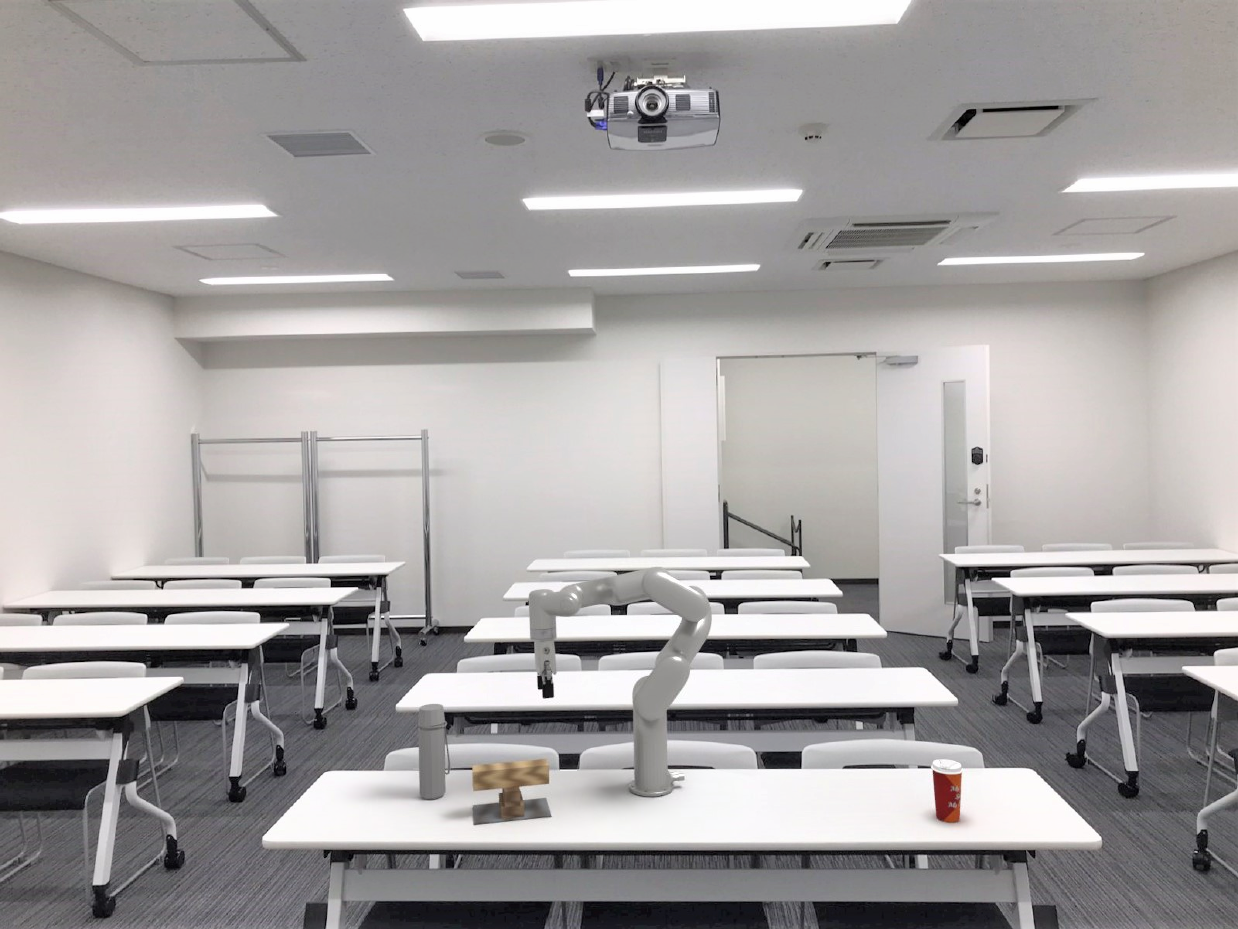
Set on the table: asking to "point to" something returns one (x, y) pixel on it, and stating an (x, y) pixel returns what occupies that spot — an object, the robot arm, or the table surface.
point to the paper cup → (947, 789)
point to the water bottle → (432, 751)
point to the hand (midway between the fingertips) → (545, 693)
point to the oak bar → (510, 774)
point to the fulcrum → (511, 808)
